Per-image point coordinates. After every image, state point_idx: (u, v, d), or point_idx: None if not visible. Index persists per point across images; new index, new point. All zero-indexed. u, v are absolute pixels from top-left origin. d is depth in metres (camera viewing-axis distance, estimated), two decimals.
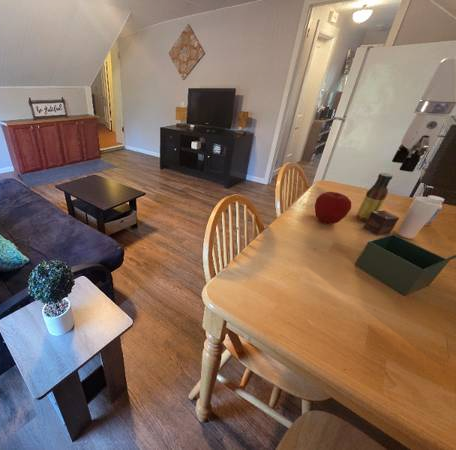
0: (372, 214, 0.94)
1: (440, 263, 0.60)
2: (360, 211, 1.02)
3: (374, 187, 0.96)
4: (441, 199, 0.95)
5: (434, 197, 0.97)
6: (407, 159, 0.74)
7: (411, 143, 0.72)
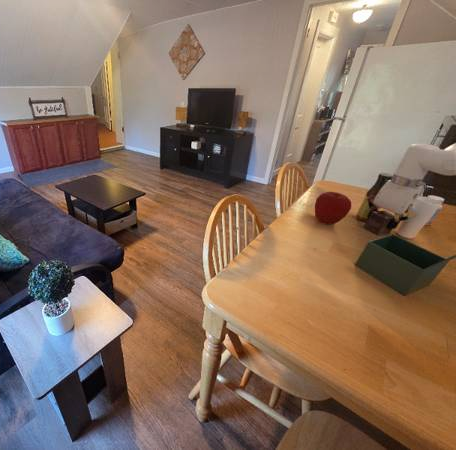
0: (372, 214, 0.94)
1: (440, 263, 0.60)
2: (360, 211, 1.02)
3: (374, 187, 0.96)
4: (441, 199, 0.95)
5: (434, 197, 0.97)
6: (394, 222, 0.89)
7: (401, 210, 0.86)
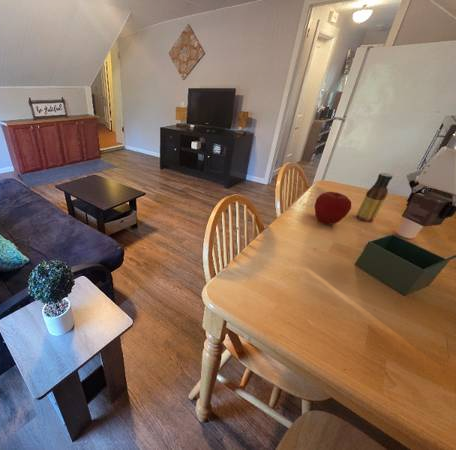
0: (416, 197, 0.67)
1: (440, 263, 0.60)
2: (360, 211, 1.02)
3: (374, 187, 0.96)
4: None
5: None
6: (451, 207, 0.62)
7: None
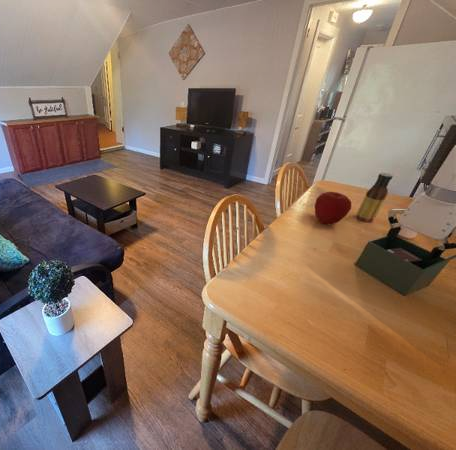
0: None
1: (440, 263, 0.60)
2: (360, 211, 1.02)
3: (374, 187, 0.96)
4: None
5: None
6: (437, 250, 0.63)
7: (442, 235, 0.61)
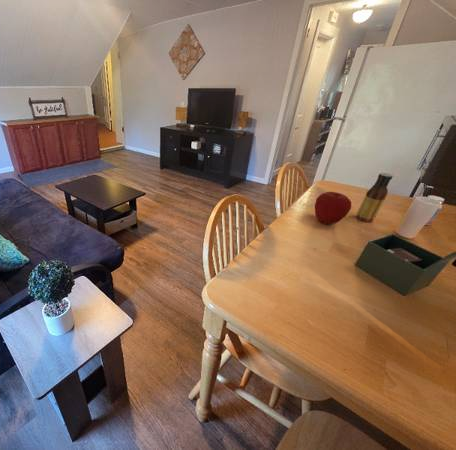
0: None
1: (439, 262, 0.60)
2: (360, 211, 1.02)
3: (374, 187, 0.96)
4: (441, 199, 0.95)
5: (434, 197, 0.97)
6: None
7: None
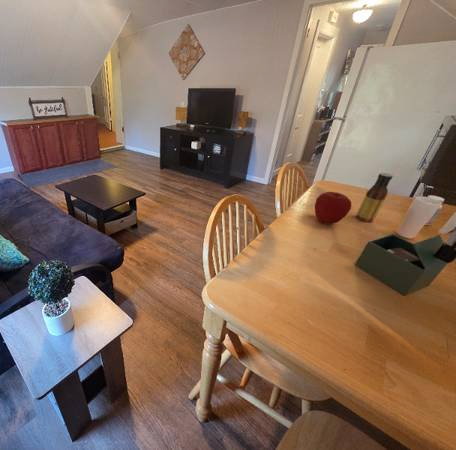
0: None
1: (420, 256, 0.63)
2: (360, 211, 1.02)
3: (374, 187, 0.96)
4: (441, 199, 0.95)
5: (434, 197, 0.97)
6: None
7: None
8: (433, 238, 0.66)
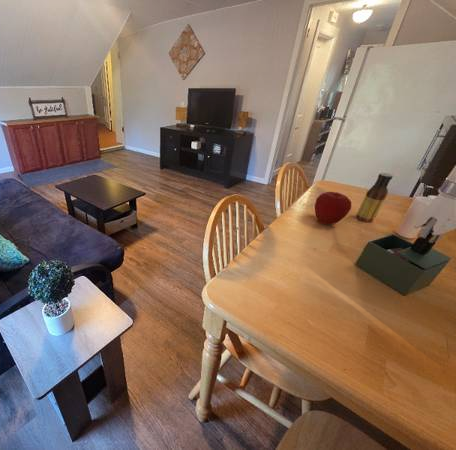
0: None
1: (411, 259, 0.65)
2: (360, 211, 1.02)
3: (374, 187, 0.96)
4: None
5: (434, 197, 0.97)
6: None
7: None
8: None
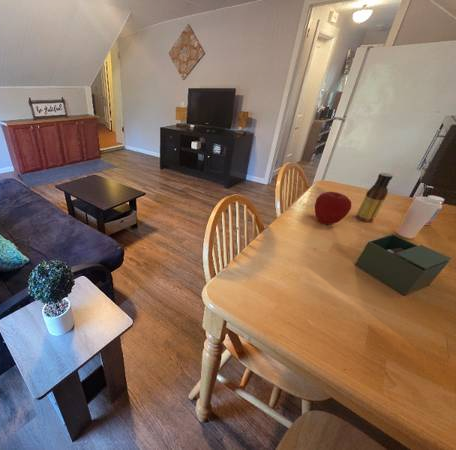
0: None
1: (410, 260, 0.65)
2: (360, 211, 1.02)
3: (374, 187, 0.96)
4: (441, 199, 0.95)
5: (434, 197, 0.97)
6: None
7: None
8: (415, 247, 0.70)
